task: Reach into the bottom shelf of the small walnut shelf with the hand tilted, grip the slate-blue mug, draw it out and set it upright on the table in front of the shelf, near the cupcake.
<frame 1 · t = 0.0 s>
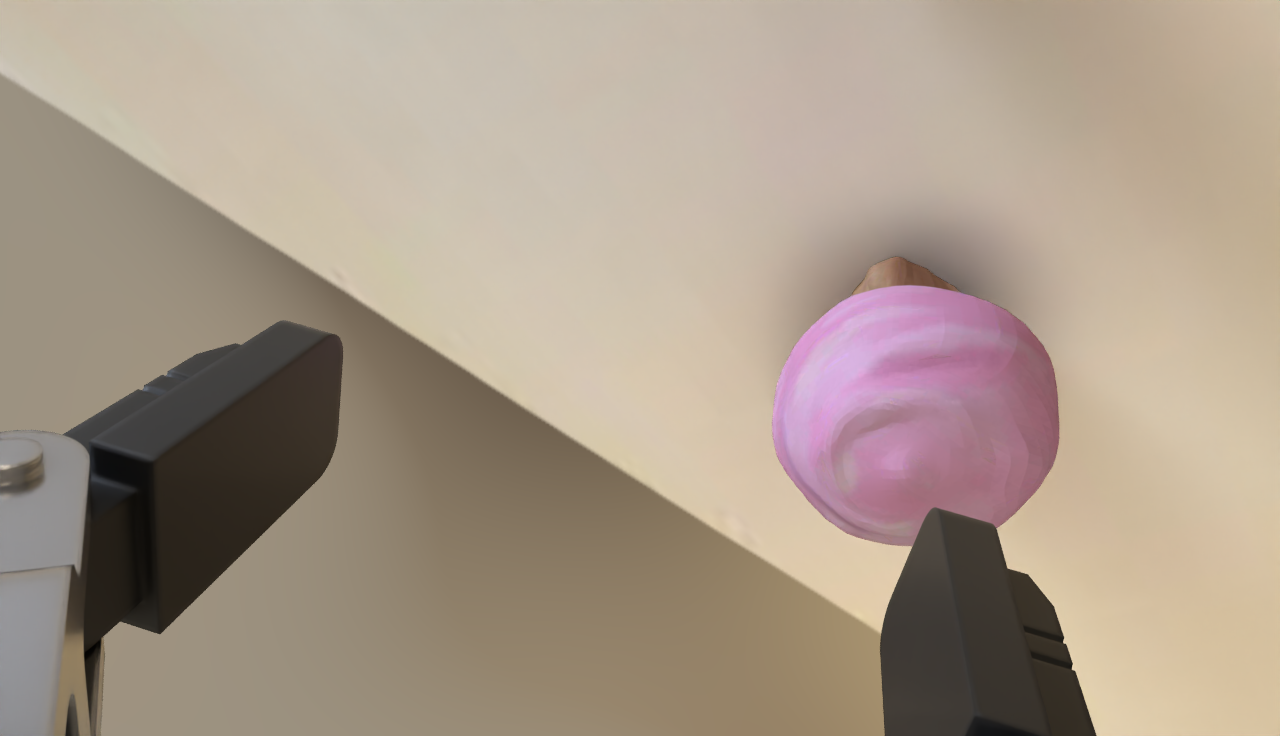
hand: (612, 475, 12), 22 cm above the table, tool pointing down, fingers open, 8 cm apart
cupcake: (907, 319, 34), on the table
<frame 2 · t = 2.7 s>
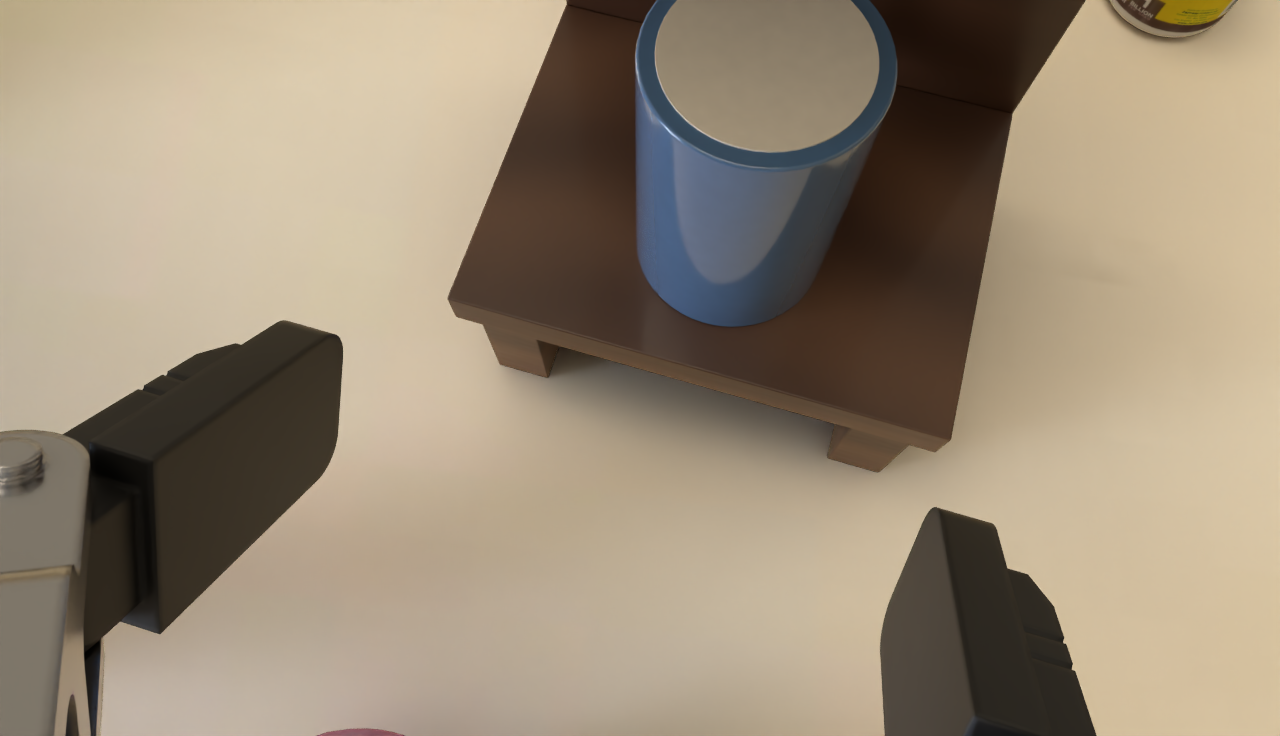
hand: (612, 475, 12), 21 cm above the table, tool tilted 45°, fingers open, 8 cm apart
shelf: (722, 291, 36), on the table
mug: (729, 241, 29), point 7 cm above the table, touching shelf
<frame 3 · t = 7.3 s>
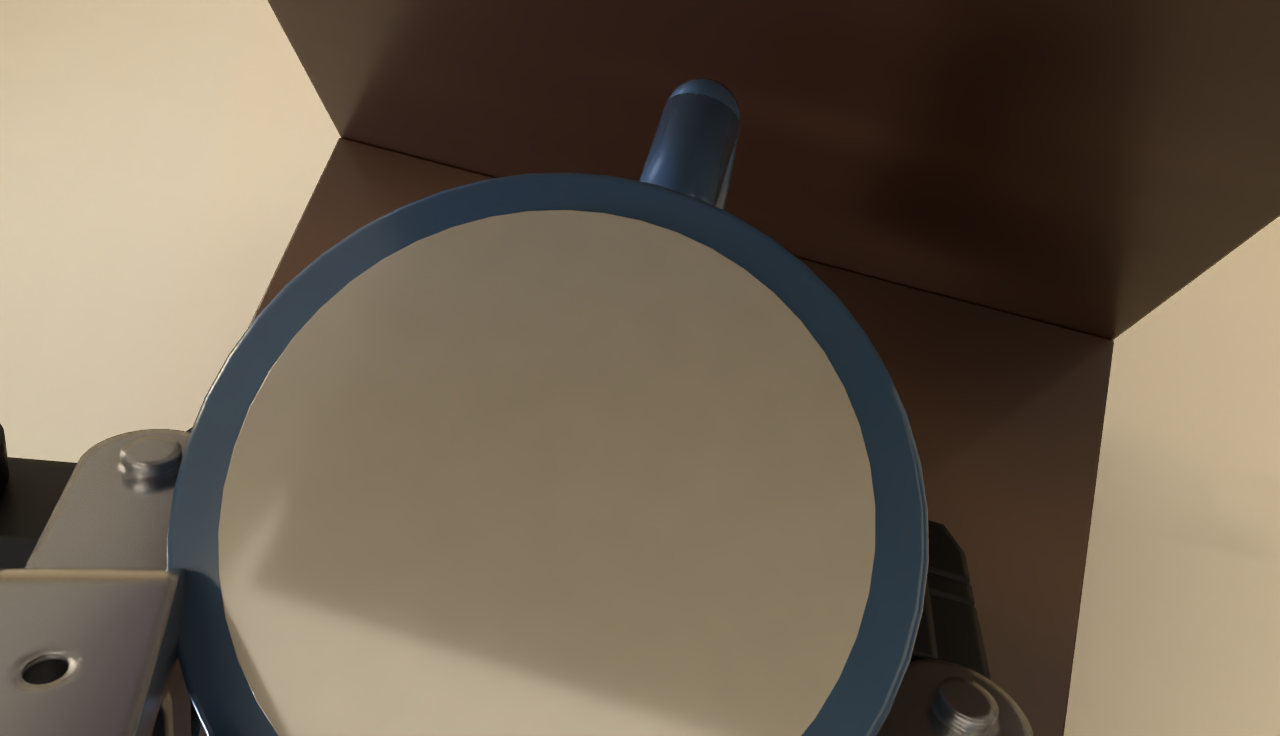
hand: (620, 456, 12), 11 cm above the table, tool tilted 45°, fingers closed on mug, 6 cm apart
shelf: (628, 571, 23), on the table
mug: (597, 604, 16), point 7 cm above the table, touching gripper, shelf
when the fingers open (4 cm above the table, at t = 18.4 s): mug stays where it is, on the table.
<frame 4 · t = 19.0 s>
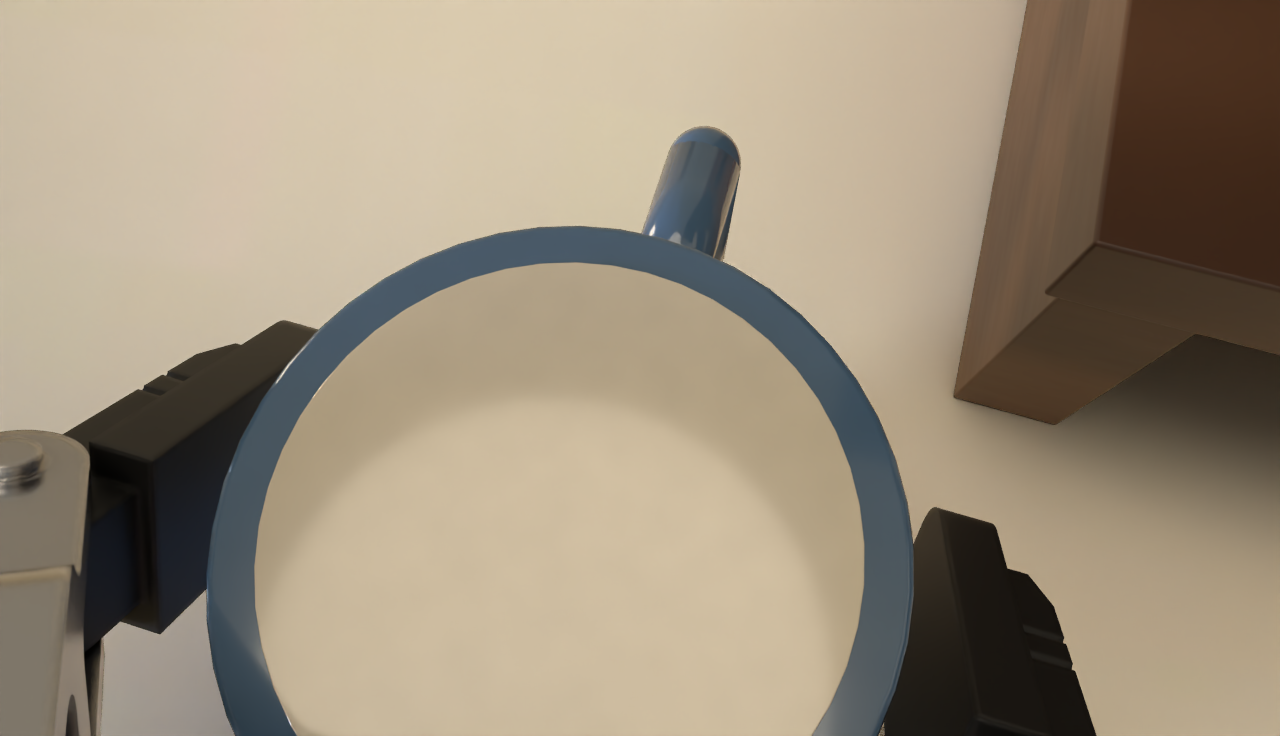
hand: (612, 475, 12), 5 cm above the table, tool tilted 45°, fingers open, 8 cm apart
mug: (603, 619, 16), on the table
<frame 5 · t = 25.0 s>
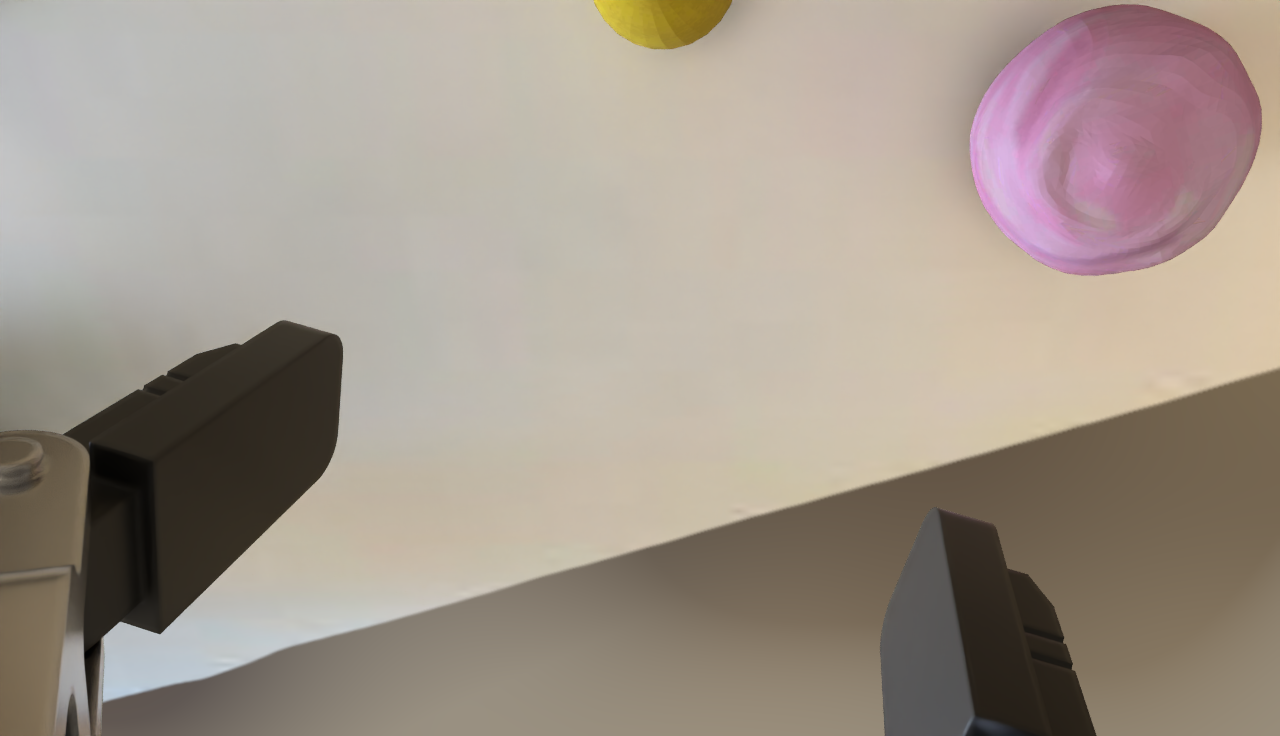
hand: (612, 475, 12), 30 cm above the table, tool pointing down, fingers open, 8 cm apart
cupcake: (1066, 117, 37), on the table
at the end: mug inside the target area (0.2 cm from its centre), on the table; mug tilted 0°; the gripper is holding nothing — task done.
